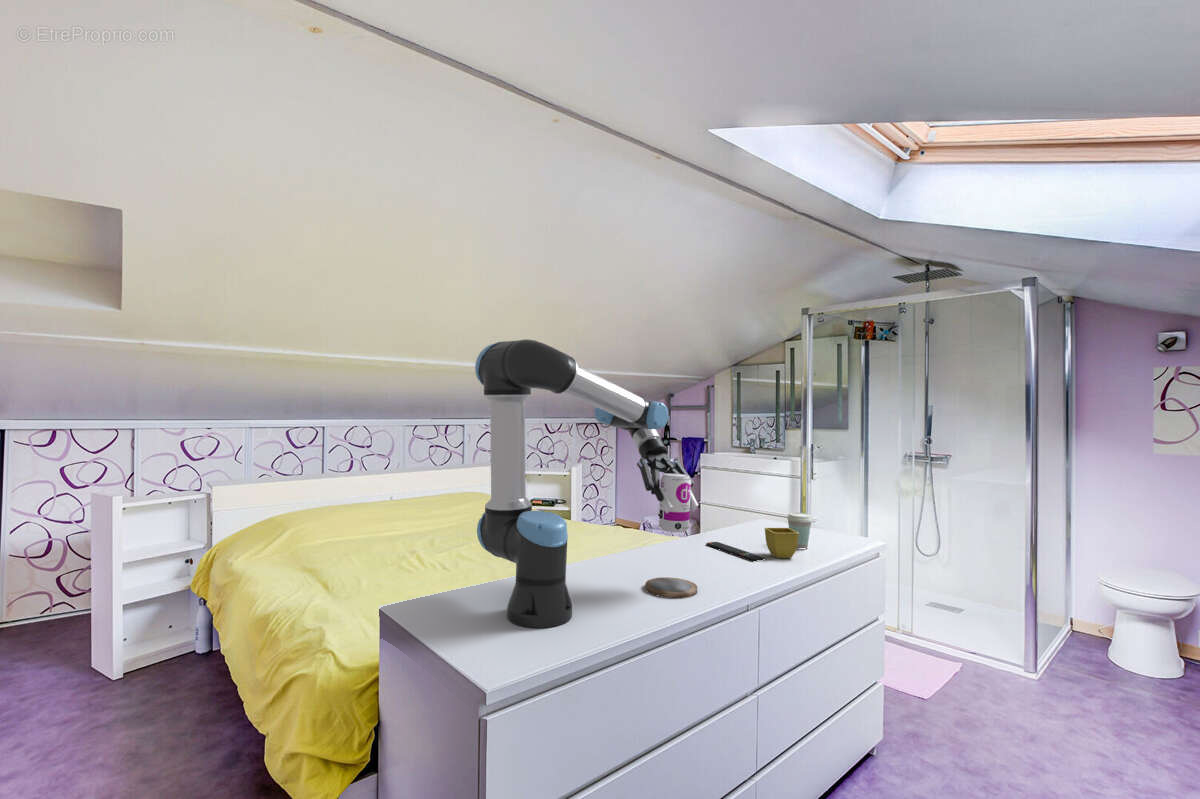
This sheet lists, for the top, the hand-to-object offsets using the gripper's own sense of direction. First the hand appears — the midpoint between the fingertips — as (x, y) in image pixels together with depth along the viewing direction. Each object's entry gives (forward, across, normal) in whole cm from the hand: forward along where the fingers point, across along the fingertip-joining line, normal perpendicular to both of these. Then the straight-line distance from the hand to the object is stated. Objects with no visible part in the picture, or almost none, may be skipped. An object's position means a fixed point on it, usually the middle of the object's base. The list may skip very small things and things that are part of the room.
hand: (682, 509), depth 155 cm
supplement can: (+2, 0, -7) cm, 7 cm away
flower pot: (+5, -55, -25) cm, 61 cm away
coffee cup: (+1, -71, -29) cm, 77 cm away
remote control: (-2, -44, -34) cm, 56 cm away
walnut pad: (+14, +1, -18) cm, 22 cm away
